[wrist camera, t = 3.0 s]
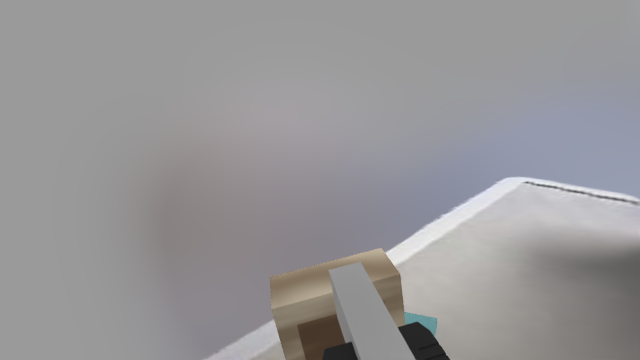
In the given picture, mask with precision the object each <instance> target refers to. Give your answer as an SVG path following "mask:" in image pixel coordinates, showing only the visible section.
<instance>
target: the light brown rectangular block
mask: <svg viewBox="0 0 640 360" xmlns="http://www.w3.org/2000/svg"><path fill="white" fill-rule="evenodd" d="M358 262H361V263H362V265H363V267H364V269H365V270H366V272H367V274H368V276H369V278H370V279H371V281H372V283H373V285H374V286H375V288H376V290H377V292H378V294H379V295H380V297H381V299H382V301H383V302H384V304H385V306H386V308H387V310H388V311H389V313H390V315H391V317H392V318H393V320H394V322H395V324H396V326H397V327H400V326H403V325H406V323H405V314H404V305H403V296H402V287H401V278H400V273H399V272H398V270H397V269H396V268H395V266H394V265H393V264H392V262H391V261H390V259H389V258H388V257H387V255H386V254H385V253H384V251H383V250H382V249H381V248H379V249H376V250H372V251H368V252H364V253H360V254H356V255H352V256H349V257H345V258H341V259H337V260H333V261H329V262H326V263H322V264H318V265H314V266H310V267H307V268H303V269H299V270H295V271H291V272H287V273H284V274H280V275H276V276H272V277H270V288H271V309H272V313H273V316H274V320H275V323H276V327H277V330H278V334H279V338H280V341H281V345H282V348H283V352H284V355H285V359H286V360H322V359H323V354H324V350H325V349H327V348H330V347H334V346H337V345H341V344H344V343H345V340H344V336H343V333H342V330H341V327H340V324H339V321H338V318H337V313H336V307H335V302H334V297H333V291H332V286H331V281H330V276H329V270H330V269H334V268H338V267H342V266H346V265H350V264H354V263H358Z"/></svg>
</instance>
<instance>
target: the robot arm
mask: <svg viewBox="0 0 640 360" xmlns="http://www.w3.org/2000/svg"><path fill="white" fill-rule="evenodd" d="M329 276H330V281H331V286H332V291H333V297H334V302H335V307H336V313H337V318H338V321H339V324H340V327H341V330H342V333H343V336H344V340H345V343H344V344H341V345H337V346H334V347H330V348H327V349H325V350H324V354H323V359H322V360H450V359H449V357H448V356H446V353H445V352H444V350H443V349H442V347H441V346H440V345H439V343H438V341H437V340H436V338H435V337H434V336H433V334H432V333H431V331H430V330H429V329H427V328H426V327H425V326H423V325H422V324H420V323H419V322H418V321H417V322H414V323H410V324H407V325H403V326H400V327H397V326H396V324H395V322H394V320H393V318H392V317H391V315H390V313H389V311H388V310H387V308H386V306H385V304H384V302H383V301H382V299H381V297H380V295H379V294H378V292H377V290H376V288H375V286H374V285H373V283H372V281H371V279H370V278H369V276H368V274H367V272H366V270H365V269H364V267H363V265H362V263H361V262H358V263H354V264H350V265H346V266H342V267H338V268H334V269H330V270H329Z"/></svg>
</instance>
